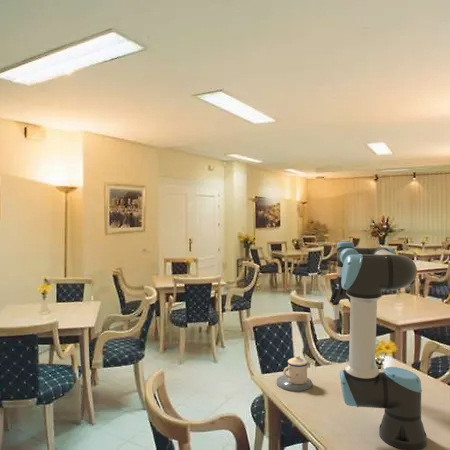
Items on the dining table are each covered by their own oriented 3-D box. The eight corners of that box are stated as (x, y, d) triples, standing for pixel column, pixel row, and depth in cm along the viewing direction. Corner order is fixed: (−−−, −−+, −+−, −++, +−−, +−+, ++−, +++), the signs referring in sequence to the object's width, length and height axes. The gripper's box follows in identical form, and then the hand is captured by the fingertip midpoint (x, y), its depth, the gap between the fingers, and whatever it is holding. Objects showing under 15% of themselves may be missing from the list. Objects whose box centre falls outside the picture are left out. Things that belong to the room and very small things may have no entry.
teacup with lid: (300, 375, 195) (299, 351, 194) (311, 382, 186) (311, 357, 186) (278, 380, 190) (278, 355, 189) (289, 387, 181) (289, 361, 181)
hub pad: (318, 387, 184) (318, 385, 184) (287, 393, 178) (287, 390, 178) (299, 375, 199) (299, 372, 199) (270, 380, 193) (270, 377, 193)
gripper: (371, 279, 175) (371, 328, 176) (335, 271, 198) (335, 315, 199) (356, 280, 172) (357, 330, 173) (322, 272, 196) (322, 316, 196)
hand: (345, 322), depth 186 cm, fingers open, 13 cm apart
